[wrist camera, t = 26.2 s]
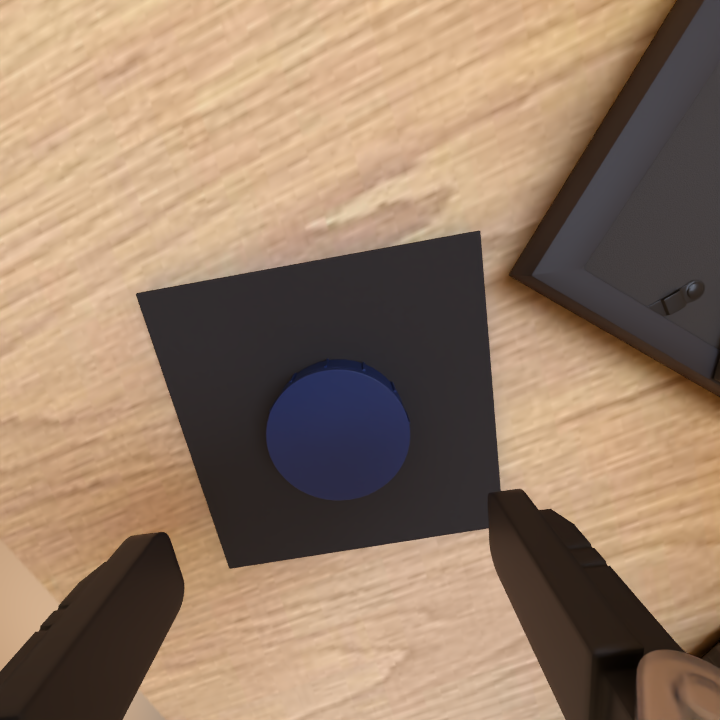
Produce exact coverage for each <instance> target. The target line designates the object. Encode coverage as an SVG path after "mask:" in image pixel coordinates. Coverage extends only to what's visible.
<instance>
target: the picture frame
mask: <svg viewBox="0 0 720 720" xmlns="http://www.w3.org/2000/svg"><path fill="white" fill-rule="evenodd" d="M509 276H511V277H513V278H514V279H516V280H518V281H520V282H521V283H523V284H525V285H527V286H528V287H530V288H532V289H533V290H535V291H537V292H539V293H540V294H542V295H544V296H546V297H547V298H549V299H551V300H553V301H554V302H556V303H558V304H559V305H561V306H563V307H565V308H566V309H568V310H570V311H572V312H573V313H575V314H577V315H579V316H580V317H582V318H584V319H586V320H587V321H589V322H591V323H592V324H594V325H596V326H598V327H599V328H601V329H603V330H605V331H606V332H608V333H610V334H612V335H613V336H615V337H617V338H618V339H620V340H622V341H624V342H625V343H627V344H629V345H631V346H632V347H634V348H636V349H638V350H639V351H641V352H643V353H644V354H646V355H648V356H650V357H651V358H653V359H655V360H657V361H658V362H660V363H662V364H664V365H665V366H667V367H669V368H670V369H672V370H674V371H676V372H677V373H679V374H681V375H683V376H684V377H686V378H688V379H690V380H691V381H693V382H695V383H697V384H698V385H700V386H702V387H703V388H705V389H707V390H709V391H710V392H712V393H714V394H716V395H717V396H719V397H720V0H677V1H676V3H675V5H674V6H673V8H672V10H671V11H670V13H669V14H668V16H667V18H666V19H665V21H664V23H663V24H662V26H661V28H660V29H659V31H658V32H657V34H656V36H655V37H654V39H653V41H652V42H651V44H650V45H649V47H648V49H647V50H646V52H645V54H644V55H643V57H642V59H641V60H640V62H639V63H638V65H637V67H636V68H635V70H634V72H633V73H632V75H631V76H630V78H629V80H628V81H627V83H626V85H625V86H624V88H623V89H622V91H621V93H620V94H619V96H618V98H617V99H616V101H615V103H614V104H613V106H612V107H611V109H610V111H609V112H608V114H607V116H606V117H605V119H604V120H603V122H602V124H601V125H600V127H599V129H598V130H597V132H596V134H595V135H594V137H593V138H592V140H591V142H590V143H589V145H588V147H587V148H586V150H585V151H584V153H583V155H582V156H581V158H580V160H579V161H578V163H577V165H576V166H575V168H574V169H573V171H572V173H571V174H570V176H569V178H568V179H567V181H566V182H565V184H564V186H563V187H562V189H561V191H560V192H559V194H558V196H557V197H556V199H555V200H554V202H553V204H552V205H551V207H550V209H549V210H548V212H547V213H546V215H545V217H544V218H543V220H542V222H541V223H540V225H539V226H538V228H537V230H536V231H535V233H534V235H533V236H532V238H531V240H530V241H529V243H528V244H527V246H526V248H525V249H524V251H523V253H522V254H521V256H520V257H519V259H518V261H517V262H516V264H515V266H514V267H513V269H512V271H511V272H510V274H509Z"/></svg>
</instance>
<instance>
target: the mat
mask: <svg viewBox="0 0 720 720" xmlns="http://www.w3.org/2000/svg"><path fill="white" fill-rule="evenodd" d="M136 296H137V299H138V302H139V305H140V308H141V311H142V313H143V316H144V319H145V322H146V325H147V328H148V331H149V334H150V337H151V340H152V343H153V346H154V349H155V352H156V355H157V357H158V360H159V363H160V366H161V369H162V372H163V375H164V378H165V381H166V384H167V387H168V390H169V393H170V396H171V399H172V401H173V404H174V407H175V410H176V413H177V416H178V419H179V422H180V425H181V428H182V431H183V434H184V437H185V440H186V443H187V445H188V448H189V451H190V454H191V457H192V460H193V463H194V466H195V469H196V472H197V475H198V478H199V481H200V484H201V487H202V489H203V492H204V495H205V498H206V501H207V504H208V507H209V510H210V513H211V516H212V519H213V522H214V525H215V528H216V531H217V533H218V536H219V539H220V542H221V545H222V548H223V551H224V554H225V557H226V560H227V563H228V566H229V568H230V569H231V568H237V567H243V566H250V565H256V564H263V563H269V562H275V561H282V560H288V559H295V558H301V557H307V556H314V555H320V554H327V553H333V552H339V551H346V550H352V549H359V548H365V547H371V546H378V545H384V544H390V543H397V542H403V541H410V540H416V539H422V538H429V537H435V536H442V535H448V534H454V533H461V532H467V531H474V530H480V529H486V528H489V520H488V494H489V493H490V492H498V491H501V490H500V477H499V464H498V451H497V439H496V426H495V413H494V400H493V388H492V375H491V362H490V349H489V337H488V324H487V311H486V298H485V286H484V273H483V260H482V248H481V235H480V231H474V232H469V233H463V234H458V235H452V236H447V237H441V238H436V239H431V240H425V241H420V242H414V243H409V244H403V245H398V246H392V247H387V248H381V249H376V250H370V251H365V252H360V253H354V254H349V255H343V256H338V257H332V258H327V259H321V260H316V261H310V262H305V263H299V264H294V265H289V266H283V267H278V268H272V269H267V270H261V271H256V272H250V273H245V274H239V275H234V276H228V277H223V278H217V279H212V280H207V281H201V282H196V283H190V284H185V285H179V286H174V287H168V288H163V289H157V290H152V291H146V292H141V293H137V294H136ZM328 358H329V360H334V359H346V360H352V361H357V362H360V363H362V362H365V364H366V365H368V366H370V367H372V368H374V369H376V370H377V371H379V372H380V373H381V374H383V375H384V376H385V377H386V378H387V379H388V380H389V381H390V382H391V381H392V382H393V383H394V386H395V389H396V390H397V392H398V394H399V396H400V398H401V401H402V403H403V406H404V409H405V411H406V412H407V415H408V417H409V420H410V424H409V426H410V445H409V449H408V453H407V456H406V458H405V461H404V463H403V465H402V466H401V468H400V470H399V471H398V472H397V474H396V475H395V476H394V477H393V478H392V479H391V480H390V481H389V482H388V483H387V484H385V485H384V486H383V487H381V488H380V489H378V490H377V491H375V492H373V493H371V494H368V495H366V496H363V497H360V498H355V499H351V500H327V499H322V498H318V497H314V496H312V495H309V494H306V493H304V492H303V491H301V490H299V489H297V488H296V487H294V486H293V485H291V484H290V483H289V482H288V481H287V480H286V479H285V478H284V477H283V476H282V475H281V474H280V473H279V471H278V470H277V468H276V467H275V465H274V463H273V461H272V459H271V457H270V454H269V451H268V447H267V442H266V427H267V421H268V417H269V414H270V412H269V410H270V408H271V407H272V405H273V404H274V402H275V400H277V398H278V397H279V395H280V393H281V392H282V390H283V389H284V387H285V386H286V384H287V383H288V382H289V381H290V379H291V378H292V376H293V375H294V373H299V372H300V371H301V370H303V369H305V368H306V367H308V366H310V365H313V364H315V363H318V362H322V361H326V359H328Z"/></svg>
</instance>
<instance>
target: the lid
mask: <svg viewBox="0 0 720 720" xmlns="http://www.w3.org/2000/svg"><path fill="white" fill-rule="evenodd" d="M269 412H270V414H269V417H268V421H267V427H266V442H267V447H268V451H269V454H270V457H271V459H272V461H273V463H274V465H275V467H276V468H277V470H278V471H279V473H280V474H281V475H282V476H283V477H284V478H285V479H286V480H287V481H288V482H289V483H290V484H291V485H293V486H294V487H296V488H297V489H299V490H301V491H303V492H304V493H306V494H309V495H312V496H314V497H318V498H322V499H327V500H351V499H355V498H360V497H363V496H366V495H368V494H371V493H373V492H375V491H377V490H378V489H380V488H381V487H383V486H384V485H385V484H387V483H388V482H389V481H390V480H391V479H392V478H393V477H394V476H395V475H396V474H397V472H398V471H399V470H400V468H401V466H402V465H403V463H404V461H405V458H406V456H407V453H408V449H409V445H410V426H409V424H410V420H409V417H408V415H407V412H406V411H405V409H404V406H403V403H402V401H401V398H400V396H399V394H398V392H397V390H396V389H395V386H394V383H393V382H392V381H391V382H390V381H389V380H388V379H387V378H386V377H385V376H384V375H383V374H381V373H380V372H379V371H377V370H376V369H374V368H372V367H370V366H368V365H366V364H365V362H362V363H360V362H357V361H352V360H346V359H334V360H329V358H328V359H326V361H322V362H318V363H315V364H313V365H310V366H308V367H306V368H305V369H303V370H301V371H300V372H299V373H294V375H293V376H292V378H291V379H290V381H289V382H288V383H287V384H286V386H285V387H284V389H283V390H282V392H281V393H280V395H279V397H278V398H277V400H275V402H274V404H273V405H272V407H271V408H270V410H269Z"/></svg>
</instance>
